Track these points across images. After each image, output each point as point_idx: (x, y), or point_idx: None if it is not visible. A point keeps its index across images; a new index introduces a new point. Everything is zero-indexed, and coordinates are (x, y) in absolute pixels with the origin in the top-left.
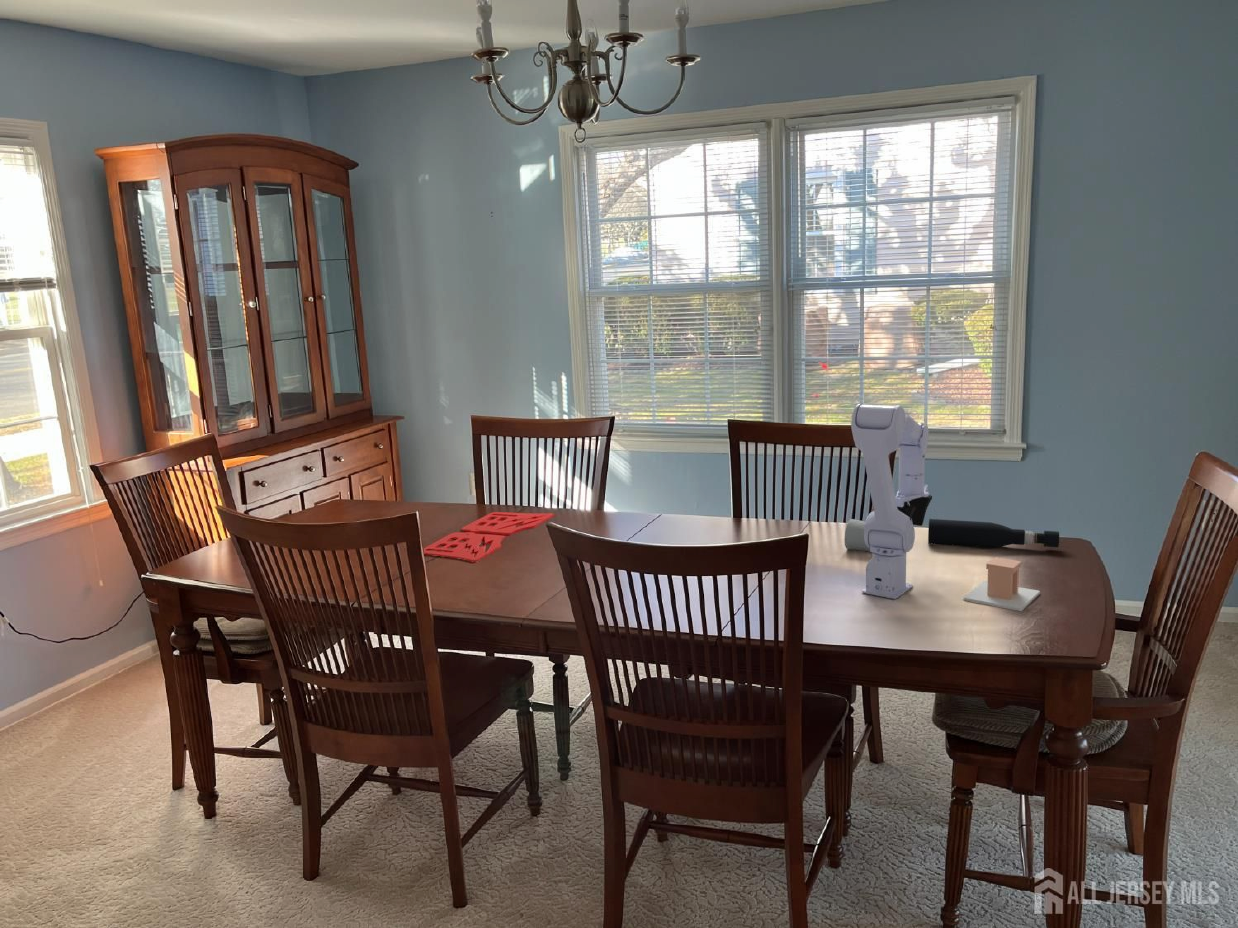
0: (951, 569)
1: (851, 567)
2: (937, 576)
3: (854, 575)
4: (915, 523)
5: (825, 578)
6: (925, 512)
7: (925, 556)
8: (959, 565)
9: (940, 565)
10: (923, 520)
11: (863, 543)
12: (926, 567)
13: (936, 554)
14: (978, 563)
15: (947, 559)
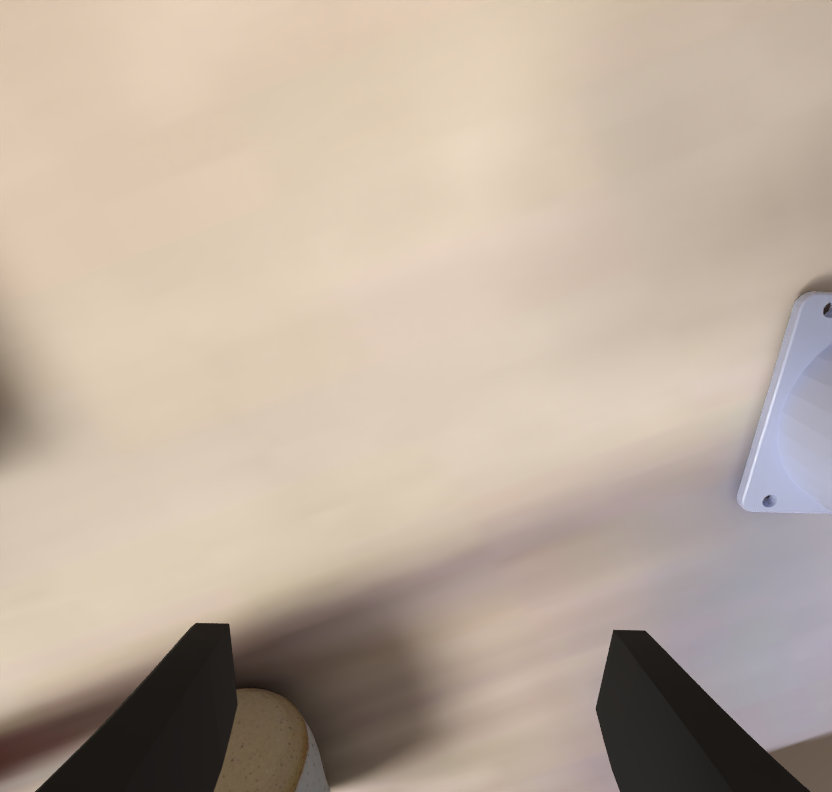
0: (313, 180)
1: (565, 689)
2: (515, 220)
3: (686, 635)
4: (228, 700)
5: (776, 717)
6: (55, 782)
7: (152, 441)
8: (187, 156)
9: (271, 287)
10: (162, 667)
11: (325, 785)
12: (365, 357)
13: (63, 395)
14: (38, 19)
15: (113, 289)
